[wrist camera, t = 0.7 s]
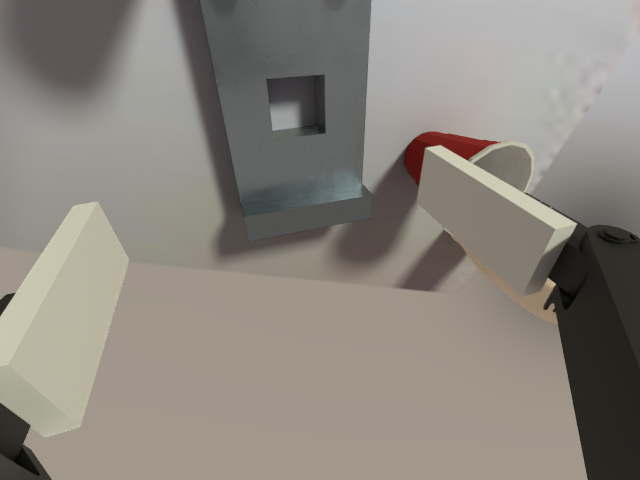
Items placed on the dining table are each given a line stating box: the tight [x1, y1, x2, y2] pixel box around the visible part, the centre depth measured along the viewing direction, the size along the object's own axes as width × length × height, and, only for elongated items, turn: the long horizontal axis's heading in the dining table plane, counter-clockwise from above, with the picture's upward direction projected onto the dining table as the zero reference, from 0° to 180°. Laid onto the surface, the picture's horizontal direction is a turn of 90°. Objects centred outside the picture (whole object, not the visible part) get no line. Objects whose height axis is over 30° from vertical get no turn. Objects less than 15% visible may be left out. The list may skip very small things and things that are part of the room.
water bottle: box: [450, 234, 558, 325], centre depth 39 cm, size 10×9×28 cm
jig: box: [200, 0, 373, 242], centre depth 30 cm, size 24×14×6 cm, turn 3°
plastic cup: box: [405, 132, 534, 236], centre depth 36 cm, size 11×11×12 cm
